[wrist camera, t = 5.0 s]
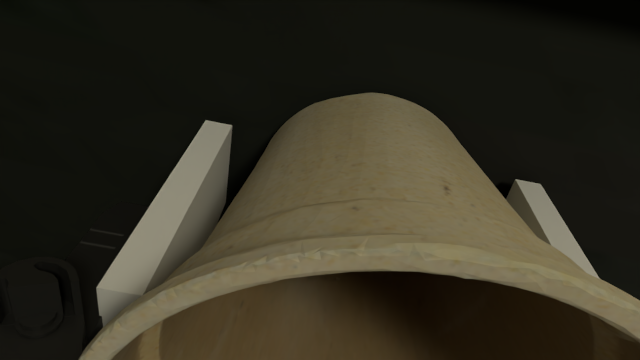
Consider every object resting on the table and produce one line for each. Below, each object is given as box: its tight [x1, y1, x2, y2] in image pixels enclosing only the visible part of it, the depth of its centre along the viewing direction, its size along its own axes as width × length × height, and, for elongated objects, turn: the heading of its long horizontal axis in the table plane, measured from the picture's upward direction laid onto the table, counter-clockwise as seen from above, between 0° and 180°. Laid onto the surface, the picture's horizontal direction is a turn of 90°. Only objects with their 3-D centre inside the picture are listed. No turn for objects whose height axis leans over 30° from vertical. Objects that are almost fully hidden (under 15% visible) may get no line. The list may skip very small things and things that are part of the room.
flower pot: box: [78, 93, 640, 360], centre depth 11 cm, size 9×9×9 cm
